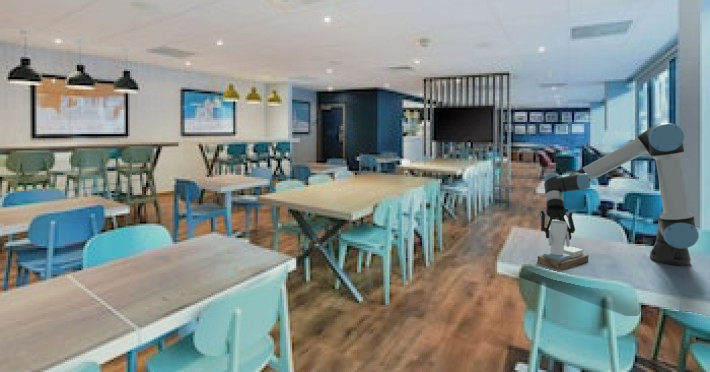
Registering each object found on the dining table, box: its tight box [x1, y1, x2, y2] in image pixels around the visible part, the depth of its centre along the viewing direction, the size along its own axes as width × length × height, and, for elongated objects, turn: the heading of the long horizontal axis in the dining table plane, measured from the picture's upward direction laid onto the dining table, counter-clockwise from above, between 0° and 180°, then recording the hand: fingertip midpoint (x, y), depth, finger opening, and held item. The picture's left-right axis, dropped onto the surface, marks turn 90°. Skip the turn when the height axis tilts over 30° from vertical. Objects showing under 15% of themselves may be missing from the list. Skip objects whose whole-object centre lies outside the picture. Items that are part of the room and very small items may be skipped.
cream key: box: [564, 245, 584, 258], centre depth 191 cm, size 8×8×3 cm
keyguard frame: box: [537, 253, 589, 271], centre depth 189 cm, size 12×22×3 cm, turn 122°
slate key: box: [543, 251, 571, 262], centre depth 186 cm, size 8×8×3 cm
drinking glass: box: [549, 220, 568, 256], centre depth 185 cm, size 7×7×15 cm
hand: (559, 244), depth 182 cm, fingers closed on drinking glass, 6 cm apart
